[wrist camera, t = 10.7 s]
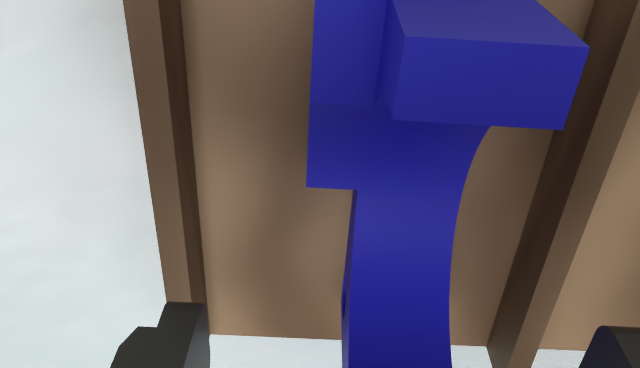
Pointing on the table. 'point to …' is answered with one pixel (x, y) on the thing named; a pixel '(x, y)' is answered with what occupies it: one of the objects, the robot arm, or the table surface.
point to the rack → (335, 204)
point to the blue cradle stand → (420, 145)
